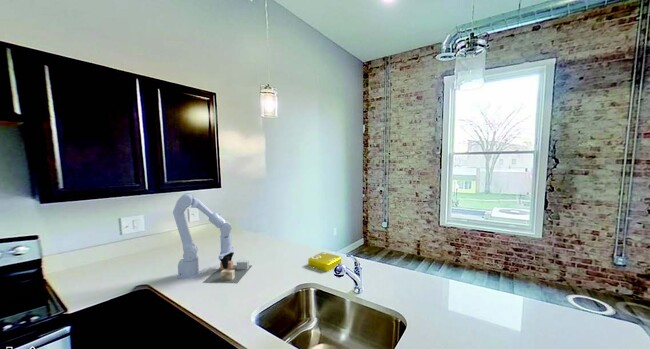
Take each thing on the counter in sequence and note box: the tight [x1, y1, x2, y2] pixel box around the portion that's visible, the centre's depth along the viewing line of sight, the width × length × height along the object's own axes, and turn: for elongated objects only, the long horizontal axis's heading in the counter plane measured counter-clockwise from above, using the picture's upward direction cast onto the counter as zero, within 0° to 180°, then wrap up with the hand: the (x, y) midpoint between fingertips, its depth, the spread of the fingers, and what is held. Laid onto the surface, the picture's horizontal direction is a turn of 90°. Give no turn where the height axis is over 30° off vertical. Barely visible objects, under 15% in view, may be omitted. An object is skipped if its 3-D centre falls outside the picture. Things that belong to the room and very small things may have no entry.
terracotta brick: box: [219, 260, 234, 270], centre depth 145 cm, size 6×3×4 cm, turn 86°
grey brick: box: [236, 259, 250, 269], centre depth 146 cm, size 6×3×4 cm, turn 86°
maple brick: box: [221, 270, 235, 280], centre depth 133 cm, size 6×3×4 cm, turn 86°
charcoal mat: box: [202, 264, 253, 284], centre depth 139 cm, size 18×22×1 cm
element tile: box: [307, 251, 342, 272], centre depth 151 cm, size 15×15×5 cm
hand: (226, 267), depth 145 cm, fingers closed on terracotta brick, 3 cm apart
